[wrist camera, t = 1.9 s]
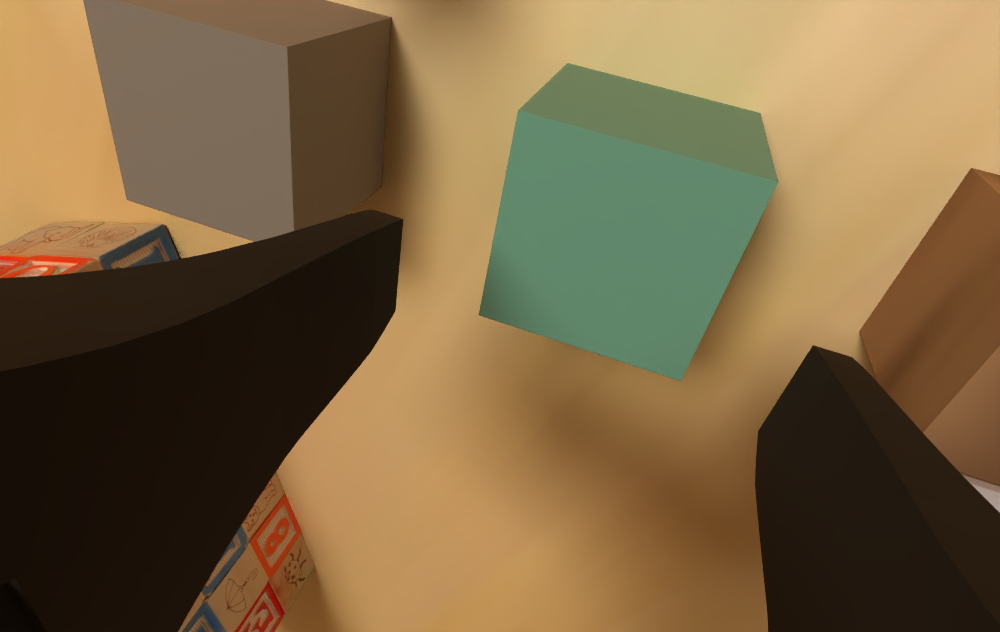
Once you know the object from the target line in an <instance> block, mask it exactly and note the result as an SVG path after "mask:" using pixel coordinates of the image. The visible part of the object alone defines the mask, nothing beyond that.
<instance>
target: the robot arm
mask: <svg viewBox="0 0 1000 632" xmlns="http://www.w3.org/2000/svg"><path fill="white" fill-rule="evenodd" d="M402 227H403V219H401V218H398V217H394V216H391V215H388V214H385V213H381V212H378V211H375V210H367V211H362V212H358V213H354V214H350V215H346V216H343V217H339V218H336V219H333V220H329V221H326V222H322V223H319V224H316V225H312V226H309V227H306V228H302V229H299V230H296V231H292V232H289V233H285V234H282V235H279V236H275V237H272V238H268V239H264V240H260V241H256V242H252V243H248V244H244V245H240V246H236V247H233V248H229V249H225V250H221V251H217V252H212V253H208V254H203V255H198V256H193V257H188V258H183V259H178V260H172V261H166V262H160V263H154V264H148V265H141V266H134V267H126V268H116V269H107V270H98V271H89V272H79V273H70V274H60V275H47V276H30V277H13V278H0V632H178V631H179V630H180V628H181V626H182V624H183V622H184V621H185V619H186V617H187V615H188V613H189V612H190V610H191V608H192V607H193V605H194V603H195V601H196V600H197V598H198V596H199V595H200V593H201V591H202V590H203V588H204V586H205V584H206V583H207V581H208V579H209V578H210V576H211V574H212V573H213V571H214V569H215V567H216V566H217V564H218V562H219V561H220V559H221V557H222V556H223V554H224V552H225V551H226V549H227V547H228V546H229V544H230V543H231V541H232V539H233V538H234V536H235V535H236V533H237V531H238V530H239V528H240V527H241V525H242V523H243V522H244V520H245V519H246V517H247V515H248V514H249V512H250V511H251V509H252V507H253V506H254V504H255V503H256V501H257V500H258V498H259V497H260V495H261V494H262V492H263V490H264V489H265V487H266V486H267V484H268V483H269V481H270V480H271V478H272V477H273V475H274V474H275V472H276V471H277V469H278V468H279V466H280V465H281V463H282V462H283V460H284V459H285V457H286V456H287V455H288V453H289V452H290V451H291V449H292V448H293V447H294V445H295V444H296V443H297V441H298V440H299V439H300V437H301V436H302V435H303V434H304V433H305V431H306V430H307V429H308V428H309V427H310V425H311V424H312V423H313V422H314V420H315V419H316V418H317V417H318V416H319V414H320V413H321V412H322V411H323V410H324V408H325V407H326V406H327V405H328V404H329V402H330V401H331V400H332V399H333V398H334V396H335V395H336V394H337V393H338V392H339V390H340V389H341V388H342V387H343V386H344V384H345V383H346V382H347V381H348V379H349V378H350V377H351V376H352V375H353V373H354V372H355V371H356V370H357V368H358V367H359V366H360V365H361V363H362V362H363V361H364V360H365V358H366V357H367V356H368V355H369V353H370V352H371V351H372V349H373V347H374V346H375V344H376V343H377V341H378V339H379V338H380V336H381V335H382V333H383V331H384V330H385V328H386V326H387V324H388V323H389V321H390V319H391V318H392V316H393V314H394V312H395V309H396V297H397V286H398V274H399V262H400V251H401V239H402ZM755 488H756V501H757V512H758V523H759V533H760V543H761V553H762V563H763V573H764V583H765V593H766V603H767V614H768V632H1000V487H999V486H996V485H993V484H990V483H987V482H984V481H981V480H978V479H975V478H972V477H969V476H966V475H963V474H961V473H960V472H959V471H958V470H957V469H956V468H955V467H954V466H953V465H952V464H951V463H950V462H949V461H948V459H947V458H946V457H945V456H944V455H943V454H942V453H941V452H940V451H939V450H938V449H937V448H936V447H935V445H934V444H933V443H932V442H931V441H930V440H929V439H928V438H927V437H926V436H925V434H924V433H923V432H922V431H921V430H920V429H919V428H918V427H917V426H916V425H915V423H914V422H913V421H912V420H911V419H910V418H909V417H908V416H907V415H906V413H905V412H904V411H903V410H902V409H901V408H900V407H899V406H898V405H897V403H896V402H895V401H894V400H893V399H892V398H891V397H890V396H889V395H888V393H887V392H886V391H885V390H884V389H883V388H882V387H881V386H880V385H879V384H878V383H877V381H876V380H875V379H874V378H873V377H872V376H871V375H870V374H869V373H868V372H867V371H866V370H865V369H864V368H863V367H862V366H861V365H860V364H859V363H858V362H857V361H855V360H854V359H853V358H852V357H849V356H846V355H843V354H839V353H836V352H833V351H830V350H826V349H823V348H820V347H817V346H812V348H811V349H810V351H809V352H808V354H807V356H806V357H805V359H804V360H803V362H802V363H801V365H800V367H799V368H798V370H797V371H796V373H795V374H794V376H793V378H792V379H791V381H790V382H789V384H788V385H787V387H786V388H785V390H784V392H783V393H782V395H781V396H780V398H779V399H778V401H777V403H776V404H775V406H774V407H773V409H772V410H771V412H770V414H769V415H768V417H767V418H766V420H765V421H764V423H763V425H762V426H761V428H760V429H759V431H758V441H757V455H756V475H755Z"/></svg>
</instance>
